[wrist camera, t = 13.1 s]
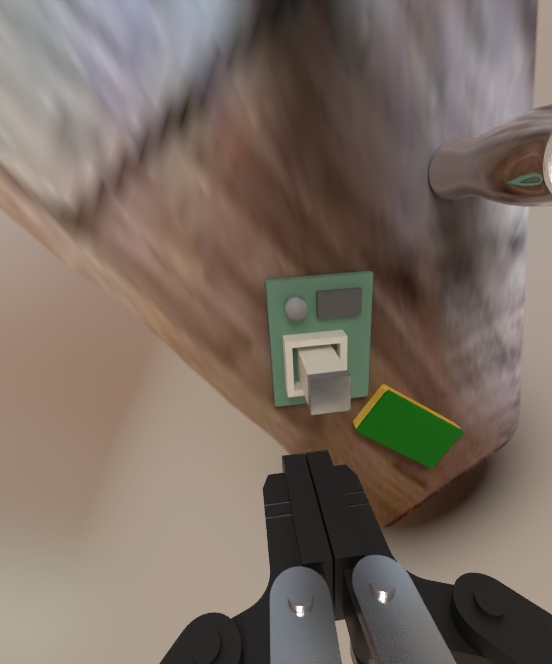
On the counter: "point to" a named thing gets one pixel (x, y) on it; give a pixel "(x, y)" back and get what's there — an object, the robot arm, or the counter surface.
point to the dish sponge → (406, 426)
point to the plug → (323, 379)
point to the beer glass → (499, 163)
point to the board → (319, 327)
